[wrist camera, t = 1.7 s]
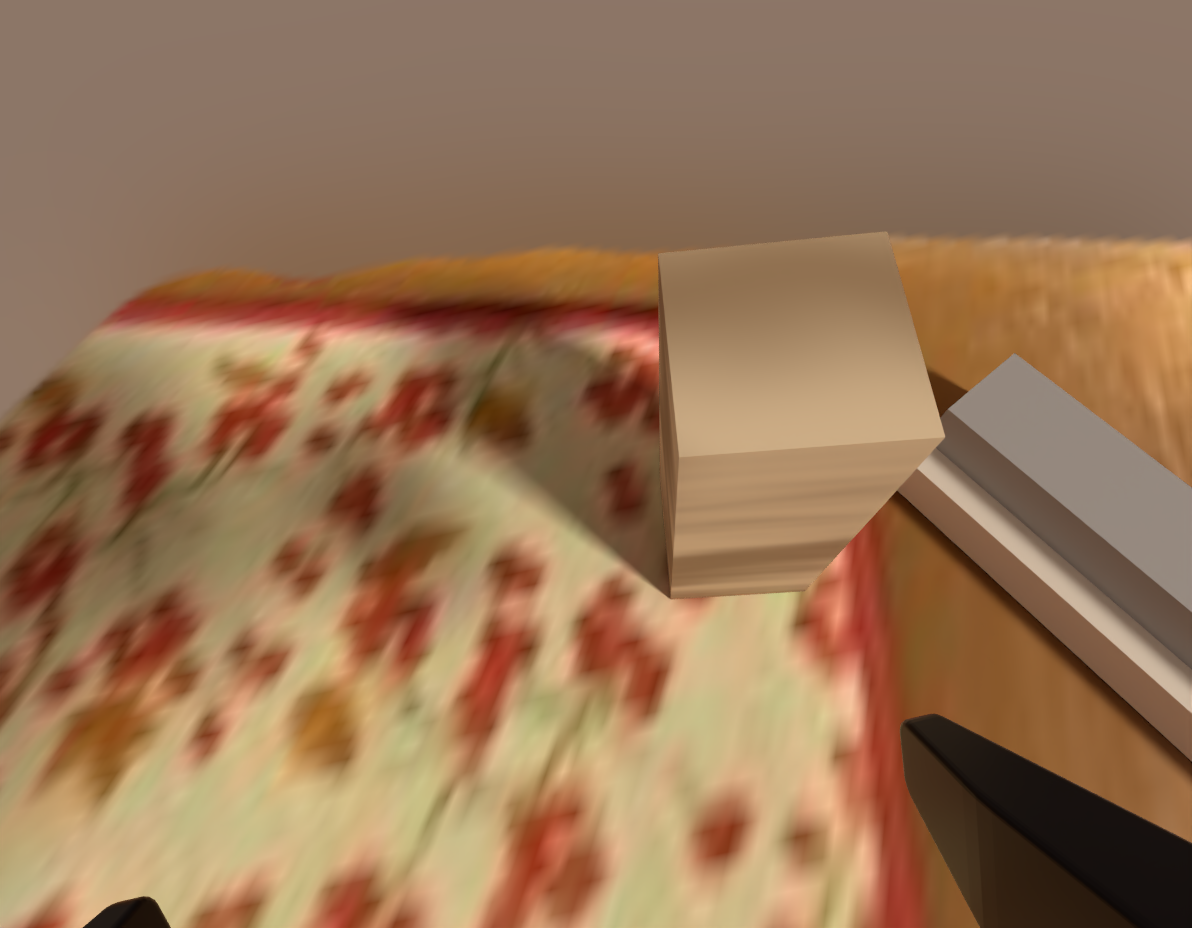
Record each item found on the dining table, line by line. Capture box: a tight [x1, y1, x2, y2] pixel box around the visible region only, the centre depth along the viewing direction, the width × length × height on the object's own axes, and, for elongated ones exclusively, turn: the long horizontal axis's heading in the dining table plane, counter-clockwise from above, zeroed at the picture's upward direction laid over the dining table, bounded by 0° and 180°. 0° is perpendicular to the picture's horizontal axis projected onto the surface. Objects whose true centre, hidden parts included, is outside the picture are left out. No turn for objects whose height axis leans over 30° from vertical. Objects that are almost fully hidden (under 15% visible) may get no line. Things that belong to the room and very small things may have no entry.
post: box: [658, 231, 945, 599], centre depth 18 cm, size 4×4×12 cm
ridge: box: [897, 353, 1192, 761], centre depth 19 cm, size 16×5×4 cm, turn 38°
